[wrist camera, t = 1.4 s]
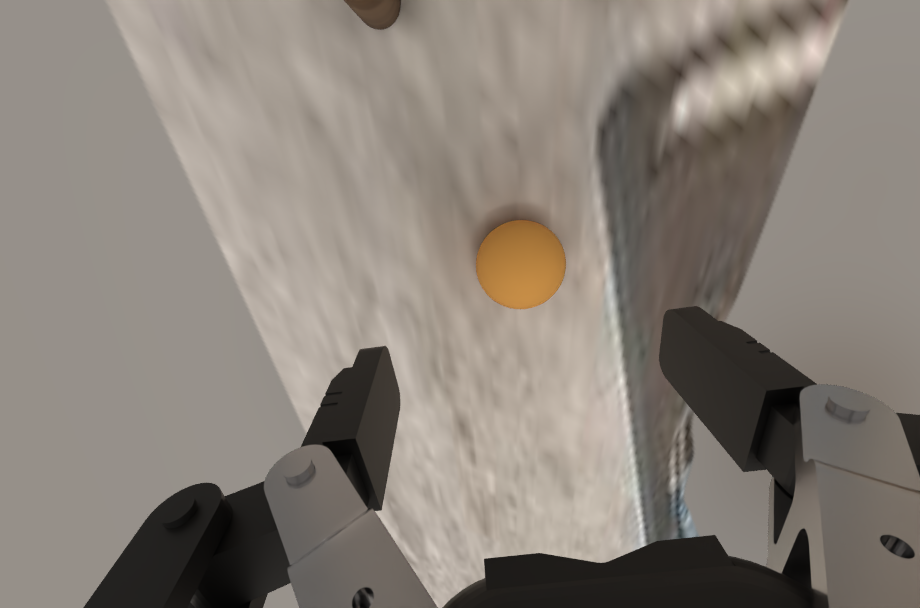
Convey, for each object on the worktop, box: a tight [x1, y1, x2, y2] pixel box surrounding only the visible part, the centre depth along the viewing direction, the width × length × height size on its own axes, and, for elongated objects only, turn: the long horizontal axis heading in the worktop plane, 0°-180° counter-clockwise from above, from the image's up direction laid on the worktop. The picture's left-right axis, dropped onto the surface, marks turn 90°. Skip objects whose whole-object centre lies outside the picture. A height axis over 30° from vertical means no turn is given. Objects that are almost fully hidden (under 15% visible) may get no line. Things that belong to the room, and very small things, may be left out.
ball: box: [476, 220, 566, 309], centre depth 25 cm, size 6×6×6 cm
